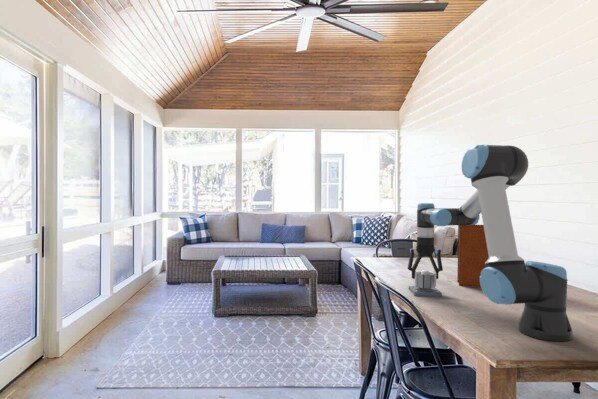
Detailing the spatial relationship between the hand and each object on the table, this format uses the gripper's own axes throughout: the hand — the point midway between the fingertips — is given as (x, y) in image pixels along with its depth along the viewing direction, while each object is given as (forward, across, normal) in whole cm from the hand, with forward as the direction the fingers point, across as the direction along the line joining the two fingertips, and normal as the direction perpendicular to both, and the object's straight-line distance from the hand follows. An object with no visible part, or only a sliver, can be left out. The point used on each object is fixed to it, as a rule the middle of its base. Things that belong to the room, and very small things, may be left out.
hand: (424, 285), depth 181 cm
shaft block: (+3, 0, 0) cm, 3 cm away
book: (+3, -33, -17) cm, 37 cm away
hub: (0, 0, 0) cm, 0 cm away
